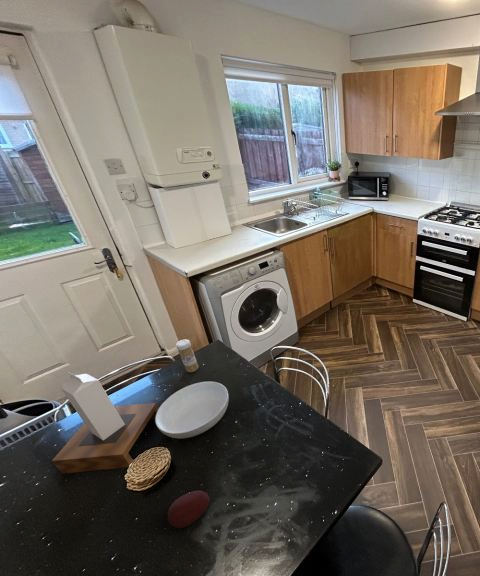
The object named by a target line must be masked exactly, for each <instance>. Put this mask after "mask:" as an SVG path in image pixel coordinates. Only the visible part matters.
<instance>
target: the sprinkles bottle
mask: <svg viewBox="0 0 480 576" xmlns="http://www.w3.org/2000/svg"><path fill="white" fill-rule="evenodd" d="M175 347H176V350H178V353H179V356H180V359H181V361H182V364H183V366H184V368H185V372H187V373H195V372H196V371H197V370H198V369H199V364H198V362H197V358H196V356H195V353H194V350H193V348H192V344H191V341H190V340H189V339H186V338H184V339H181V340H178V341H177V342H176V344H175Z"/></svg>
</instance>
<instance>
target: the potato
mask: <svg viewBox="0 0 480 576" xmlns="http://www.w3.org/2000/svg"><path fill="white" fill-rule="evenodd" d="M210 500H211V498H210V496H209V494H208V493H207V492H206V491H203V490H193V491H190V492H188V493H185V494H184V495H182V496H180V497H178V498H176V499H175V500H174V501H173V502H172V504H171V505H170V507H169V508H168V511H167V521H168V523H169V524H170V526H172V527H173V528H175V529H185V528H186V527H188V526H190V525H192V524H194V523H195V522H196V521H197V520H199V519H200V518H201V516H202V515H203V514H204V513H205V512H206V510H207V509H208V507H209V506H210V502H211V501H210Z"/></svg>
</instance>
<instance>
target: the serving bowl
mask: <svg viewBox="0 0 480 576" xmlns="http://www.w3.org/2000/svg"><path fill="white" fill-rule="evenodd" d="M229 399H230V397H229V391H228V389H227V387H226V386H225V385H223V384H222V383H220V382H217V381H200V382H197V383H193V384H190V385H187V386H185V387H183V388H181V389H179V390H177V391H176V392H174V393H173V394H171V395H170V396H168V398H166V399H165V400H164V402H162V404H161V405H160V406H159V407H158V408H159V409H158V411H157V414H156V418H155V419H154V422H155V425H156V427H157V428H158V430H159V431H160V432H161V434H164V435H165V436H167V437H169V438H172V439H189V438H193V437H196V436H199V435H201V434H203V433H205V432H206V431H207V432H208V431H209V430H210V429H212V428H213V427H214V426H215V425H217V423H219V422H220V421H221V419H222V418H223V417H224V415H225V413H226V411H227V409H228V406H229V402H230V401H229Z"/></svg>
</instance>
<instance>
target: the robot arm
mask: <svg viewBox="0 0 480 576" xmlns="http://www.w3.org/2000/svg"><path fill="white" fill-rule="evenodd" d="M8 417H9V414H8V413H7V411H5V409H4V408H3V407H2V406H1V405H0V420H4V419H7V418H8Z"/></svg>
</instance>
